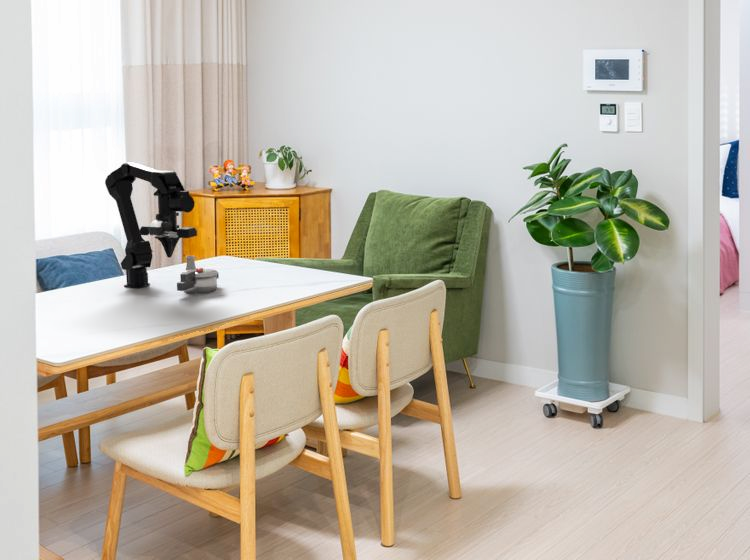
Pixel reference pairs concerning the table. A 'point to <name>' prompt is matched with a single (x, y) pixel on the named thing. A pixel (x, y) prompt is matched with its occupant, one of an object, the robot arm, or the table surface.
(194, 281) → the pot
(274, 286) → the table surface
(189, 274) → the lid
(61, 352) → the table surface
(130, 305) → the table surface
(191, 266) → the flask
